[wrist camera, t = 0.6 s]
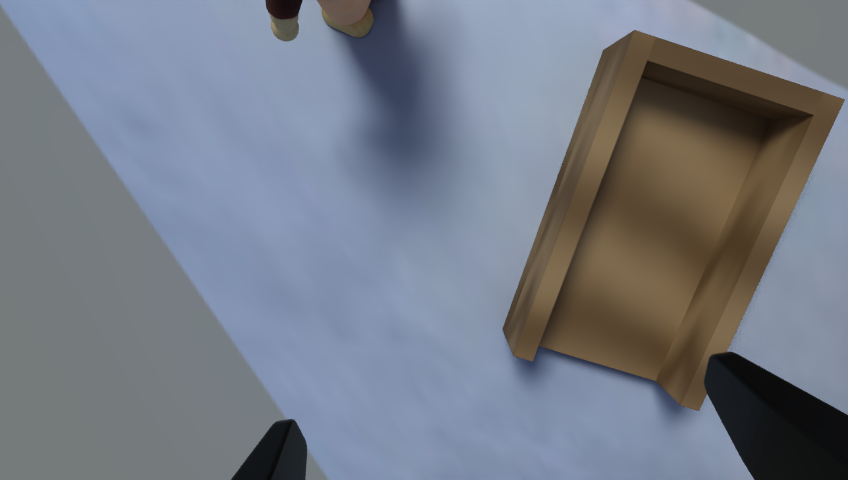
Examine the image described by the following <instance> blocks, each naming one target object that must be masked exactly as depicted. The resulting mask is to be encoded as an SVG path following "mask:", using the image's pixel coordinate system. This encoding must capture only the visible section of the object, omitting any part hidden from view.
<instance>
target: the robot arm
mask: <svg viewBox="0 0 848 480" xmlns="http://www.w3.org/2000/svg"><path fill="white" fill-rule="evenodd" d="M704 386H705V390H706V392H707V394H708V396H709V398H710V400H711V402H712V404H713V406H714V407H715V409H716V411H717V413H718V415H719V417H720V419H721V421H722V423H723V425H724V427H725V429H726V430H727V432H728V434H729V436H730V438H731V440H732V442H733V444H734V446H735V448H736V450H737V451H738V453H739V455H740V457H741V459H742V460H743V462H744V464H745V465H746V467H747V469H748V470H749V472H750V473H751V475H752V477H753V478H754V480H848V415H847V414H845V413H843V412H841V411H840V410H838V409H836V408H834V407H832V406H831V405H829V404H827V403H825V402H823V401H821V400H820V399H818V398H816V397H814V396H812V395H811V394H809V393H807V392H805V391H803V390H802V389H800V388H798V387H796V386H794V385H792V384H791V383H789V382H787V381H785V380H783V379H782V378H780V377H778V376H776V375H774V374H773V373H771V372H769V371H767V370H765V369H763V368H762V367H760V366H758V365H756V364H754V363H753V362H751V361H749V360H747V359H745V358H744V357H742V356H740V355H738V354H736V353H733V352H723V353H717V354H712V355H711V356H710V357H709V360H708V364H707V368H706V373H705V377H704ZM306 460H307V444H306V441H305V438H304V436H303V434H302V432H301V430H300V429H299V427H298V425H297V423H296V421H295V420H293V419H288V420H281V421H277V422H275V423H274V424H273V425H272V426H271V427H270V429H269V430H268V431H267V433H266V434H265V435H264V437H263V438H262V439H261V441H260V442H259V443H258V445H257V446H256V447H255V449H254V450H253V451H252V452H251V454H250V455H249V456H248V458H247V459H246V460H245V462H244V463H243V465H242V466H241V467H240V469H239V470H238V471H237V472H236V474H235V475H234V476H233V478H232V479H231V480H305V476H306Z"/></svg>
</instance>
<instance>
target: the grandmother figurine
mask: <svg viewBox="0 0 848 480" xmlns="http://www.w3.org/2000/svg"><path fill="white" fill-rule="evenodd" d="M317 1H318V3H319V4H320V6H321V8H322V16H323V18H324V20H325V21H326V23H327V24H328V25H330V26H331V27H333V28H335V29H337V30H339V31H342V32H344V33H346V34H348V35H351V36H353V37H357V38H360V37H363V36H365V35H367V34H368V32H369V31H370V29H371V27H372V25H373V22H374V16H373V13H372V11H371V10H370V9H369V4H370V2H371V0H317ZM301 4H302V0H266V8H267V10H268V12H269V13H270V17H271V20H272V22H271V28H272V31H273V34H274V35H275V36H276V37H277V38H278V39H280V40H282V41H291V40H293V39H295V38H296V36H297V35H298V31H299V25H298V22H297V21H298V13H299V10H300V7H301Z"/></svg>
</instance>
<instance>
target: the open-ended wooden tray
mask: <svg viewBox="0 0 848 480" xmlns="http://www.w3.org/2000/svg"><path fill="white" fill-rule="evenodd" d="M844 100H845V99H842V98H839V97H836V96H833V95H830V94H827V93H824V92H821V91H818V90H815V89H812V88H809V87H806V86H803V85H800V84H797V83H794V82H791V81H787V80H784V79H781V78H778V77H775V76H772V75H769V74H766V73H763V72H760V71H757V70H754V69H751V68H748V67H745V66H742V65H739V64H736V63H733V62H730V61H727V60H724V59H721V58H718V57H715V56H712V55H709V54H706V53H703V52H700V51H697V50H694V49H691V48H688V47H685V46H682V45H679V44H676V43H672V42H669V41H666V40H663V39H660V38H657V37H654V36H651V35H648V34H645V33H642V32H639V31H636V30H634V31H632V32H631V33H629V34H628V35H626V36H625V37H623V38H622V39H620V40H618V41H617V42H615V43H614V44H612V45H611V46H609V47H608V48H606V49H604V50H603V53H602V55H601V58H600V61H599V64H598V66H597V69H596V72H595V75H594V77H593V80H592V83H591V86H590V89H589V91H588V94H587V97H586V100H585V102H584V105H583V108H582V111H581V113H580V116H579V119H578V122H577V124H576V127H575V130H574V133H573V136H572V138H571V141H570V144H569V147H568V149H567V152H566V155H565V158H564V160H563V163H562V166H561V169H560V172H559V174H558V177H557V180H556V183H555V185H554V188H553V191H552V194H551V196H550V199H549V202H548V205H547V207H546V210H545V213H544V216H543V219H542V221H541V224H540V227H539V230H538V232H537V235H536V238H535V241H534V243H533V246H532V249H531V252H530V255H529V257H528V260H527V263H526V266H525V268H524V271H523V274H522V277H521V279H520V282H519V285H518V288H517V291H516V293H515V296H514V299H513V302H512V304H511V307H510V310H509V313H508V315H507V318H506V321H505V324H504V326H503V332H504V334H505V336H506V339H507V341H508V343H509V346H510V348H511V351H512V353H513V355H514V356H516V357H519V358H522V359H526V360H529V361H532V362H533V359H534V356H535V354H536V351H537V349H538V346H540V347H544V348H547V349H550V350H554V351H557V352H560V353H564V354H567V355H570V356H574V357H577V358H580V359H584V360H587V361H591V362H594V363H597V364H601V365H604V366H607V367H611V368H614V369H617V370H621V371H624V372H627V373H631V374H634V375H637V376H641V377H644V378H647V379H651V380H654V381H656V382H657V383H658V384H659V385H660V386H661V387H662V388H663V389H664V390H665V391H666V392H667V393H668V394H669V395H670V396H671V397H672V398H673V399H674V400H675V401H676V402H678V403H679V404H680V405H681V406H684V407H687V408H691V409H694V410H697V411H699V410H700V407H701V405H702V403H703V401H704V399H705V397H706V395H707V392H706V390H705V386H704V377H705V373H706V368H707V364H708V360H709V357H710V356H711V355H712V354H717V353H723V352H727V350H728V348H729V346H730V343H731V341H732V339H733V337H734V335H735V333H736V331H737V329H738V326H739V324H740V322H741V320H742V318H743V316H744V314H745V311H746V309H747V307H748V305H749V303H750V301H751V299H752V297H753V294H754V292H755V290H756V288H757V286H758V284H759V282H760V279H761V277H762V275H763V273H764V271H765V269H766V267H767V265H768V262H769V260H770V258H771V256H772V254H773V252H774V250H775V247H776V245H777V243H778V241H779V239H780V237H781V235H782V233H783V230H784V228H785V226H786V224H787V222H788V220H789V218H790V216H791V213H792V211H793V209H794V207H795V205H796V203H797V201H798V198H799V196H800V194H801V192H802V190H803V188H804V186H805V184H806V181H807V179H808V177H809V175H810V173H811V171H812V169H813V166H814V164H815V162H816V160H817V158H818V156H819V154H820V152H821V149H822V147H823V145H824V143H825V141H826V139H827V137H828V134H829V132H830V130H831V128H832V126H833V124H834V122H835V120H836V117H837V115H838V113H839V111H840V109H841V107H842V105H843V103H844Z"/></svg>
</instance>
